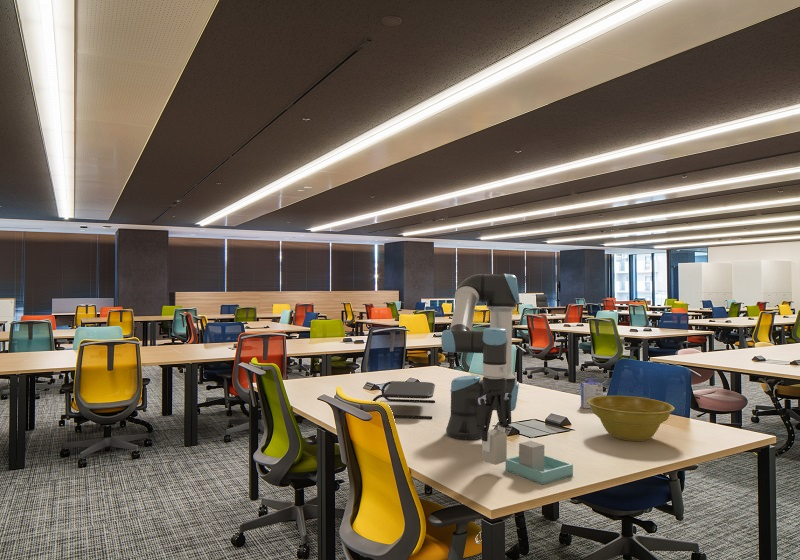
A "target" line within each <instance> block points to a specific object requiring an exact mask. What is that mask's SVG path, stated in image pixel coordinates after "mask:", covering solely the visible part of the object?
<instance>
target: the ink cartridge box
mask: <svg viewBox="0 0 800 560" xmlns="http://www.w3.org/2000/svg"><path fill="white" fill-rule="evenodd" d="M586 380H587V382H580V407H581V408H582V409H591V406H590V404H589V403H588V402H587V400H588V399H590V398H593V397H599V396H604V395H603V394H604V393H603V392H604V391H603V390H604V387H603V383H601V382H596V381H595V378H593V377H587V378H586Z"/></svg>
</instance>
